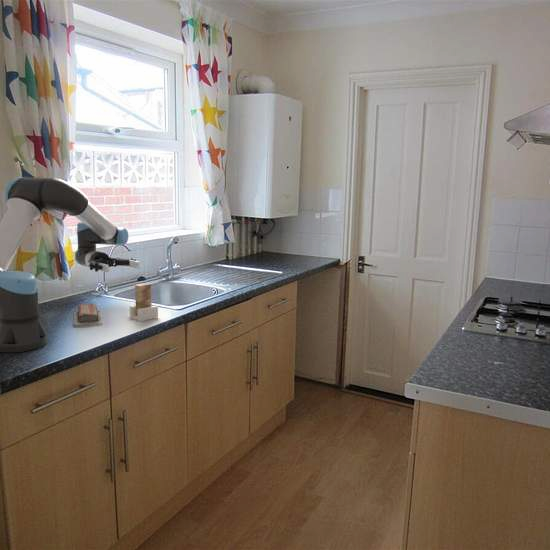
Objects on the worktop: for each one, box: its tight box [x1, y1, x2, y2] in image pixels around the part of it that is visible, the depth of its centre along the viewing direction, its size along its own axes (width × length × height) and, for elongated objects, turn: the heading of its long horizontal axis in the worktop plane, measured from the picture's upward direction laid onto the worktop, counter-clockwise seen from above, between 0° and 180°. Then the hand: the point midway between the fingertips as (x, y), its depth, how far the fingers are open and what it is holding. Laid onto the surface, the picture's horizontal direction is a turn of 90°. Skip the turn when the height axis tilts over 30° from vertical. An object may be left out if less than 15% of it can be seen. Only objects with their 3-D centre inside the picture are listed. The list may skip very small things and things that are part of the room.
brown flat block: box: [72, 303, 103, 328], centre depth 196 cm, size 18×5×10 cm
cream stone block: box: [129, 304, 159, 322], centre depth 200 cm, size 8×7×4 cm
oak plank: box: [134, 282, 152, 316], centre depth 199 cm, size 5×3×12 cm, turn 136°
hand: (123, 266), depth 207 cm, fingers open, 13 cm apart
